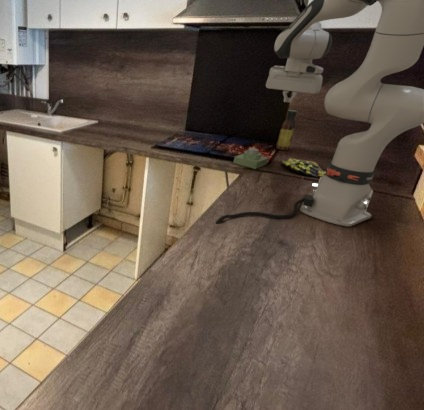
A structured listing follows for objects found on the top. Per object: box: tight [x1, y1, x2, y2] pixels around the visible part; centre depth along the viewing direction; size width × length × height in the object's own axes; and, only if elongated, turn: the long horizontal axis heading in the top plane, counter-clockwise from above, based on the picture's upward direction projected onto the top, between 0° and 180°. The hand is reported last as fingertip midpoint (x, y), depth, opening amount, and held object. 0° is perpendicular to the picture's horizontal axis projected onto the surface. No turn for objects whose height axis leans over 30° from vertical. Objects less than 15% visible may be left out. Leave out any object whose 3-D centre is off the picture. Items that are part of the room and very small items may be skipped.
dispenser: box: [232, 150, 269, 170], centre depth 159 cm, size 12×10×5 cm
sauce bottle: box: [276, 109, 298, 151], centre depth 184 cm, size 7×6×20 cm
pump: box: [247, 147, 260, 154], centre depth 157 cm, size 4×4×2 cm
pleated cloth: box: [281, 157, 327, 178], centre depth 155 cm, size 20×16×7 cm
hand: (287, 102), depth 149 cm, fingers closed
